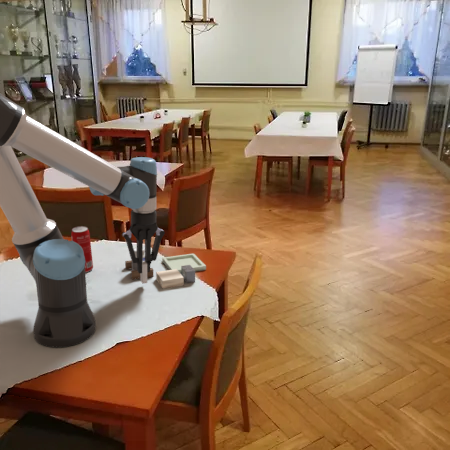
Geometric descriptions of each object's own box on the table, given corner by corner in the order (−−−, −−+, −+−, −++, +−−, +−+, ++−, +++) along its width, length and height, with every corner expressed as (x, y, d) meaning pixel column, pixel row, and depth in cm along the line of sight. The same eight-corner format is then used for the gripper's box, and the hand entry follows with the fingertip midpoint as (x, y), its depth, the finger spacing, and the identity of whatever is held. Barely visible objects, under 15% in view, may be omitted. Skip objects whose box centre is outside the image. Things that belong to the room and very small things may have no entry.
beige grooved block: (183, 286, 146) (183, 277, 145) (162, 289, 143) (162, 280, 142) (176, 277, 152) (176, 268, 151) (156, 280, 149) (156, 272, 148)
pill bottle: (143, 275, 151) (142, 252, 148) (129, 274, 152) (129, 250, 149) (148, 270, 155) (147, 247, 152) (135, 268, 156) (134, 245, 153)
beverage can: (95, 266, 156) (93, 225, 151) (88, 274, 150) (85, 232, 145) (79, 265, 157) (76, 224, 152) (71, 273, 150) (67, 230, 146)
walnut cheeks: (153, 276, 151) (153, 269, 150) (132, 279, 148) (132, 272, 147) (145, 265, 159) (145, 258, 158) (125, 267, 156) (125, 261, 155)
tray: (206, 269, 157) (206, 265, 157) (173, 274, 152) (173, 270, 152) (193, 257, 167) (193, 253, 167) (162, 261, 163) (162, 257, 162)
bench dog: (195, 281, 148) (195, 270, 147) (186, 283, 147) (186, 271, 145) (189, 275, 152) (189, 264, 151) (181, 277, 151) (181, 266, 150)
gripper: (161, 205, 141) (160, 274, 149) (119, 207, 136) (120, 279, 143) (168, 211, 135) (167, 283, 142) (124, 214, 130) (125, 289, 137)
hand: (143, 281), depth 143 cm, fingers closed
